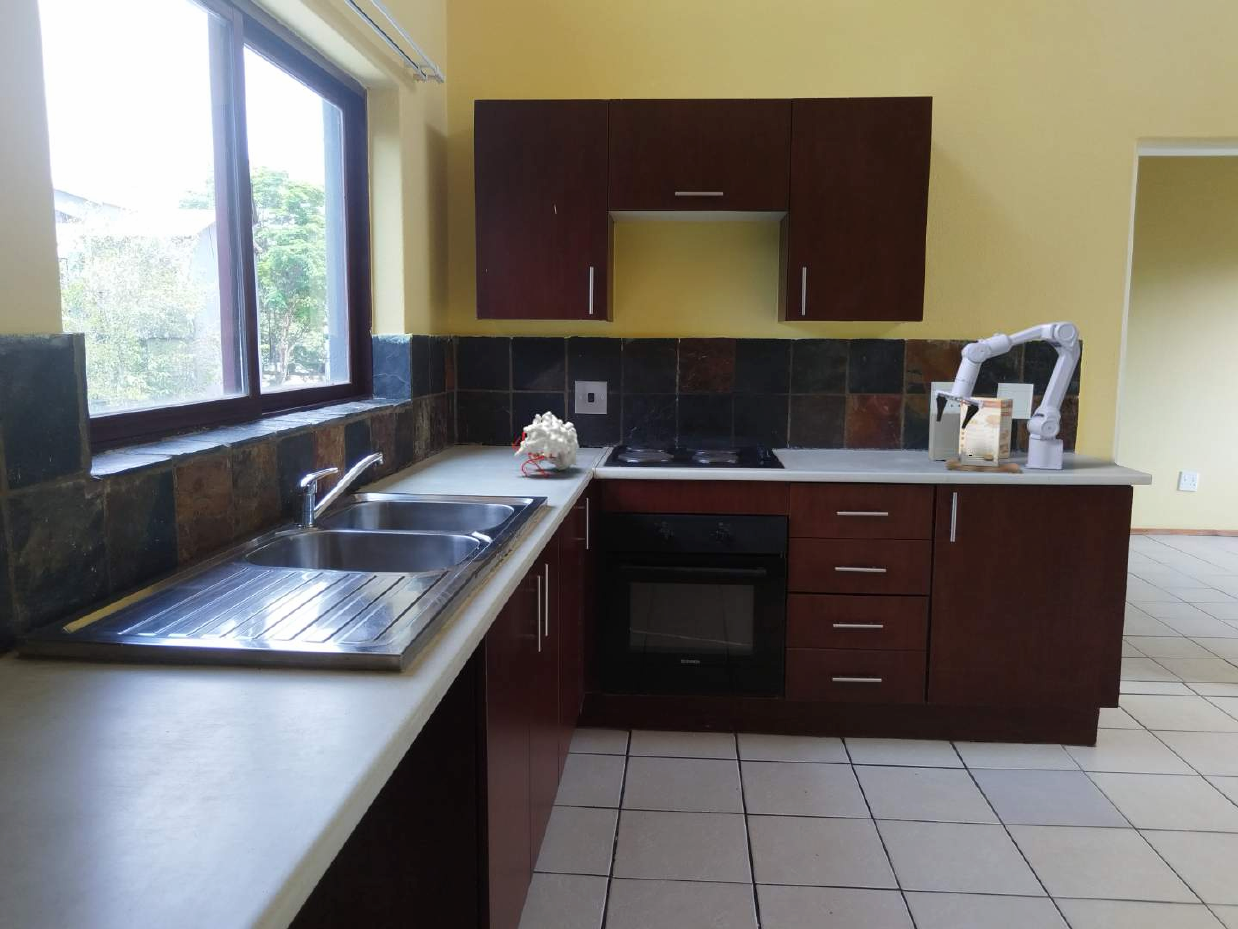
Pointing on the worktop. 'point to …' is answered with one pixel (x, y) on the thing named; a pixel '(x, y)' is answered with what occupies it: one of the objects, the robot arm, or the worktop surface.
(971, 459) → the panel
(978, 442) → the coffeecake box
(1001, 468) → the board
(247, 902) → the worktop surface
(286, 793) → the worktop surface
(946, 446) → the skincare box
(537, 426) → the molecular structure model
